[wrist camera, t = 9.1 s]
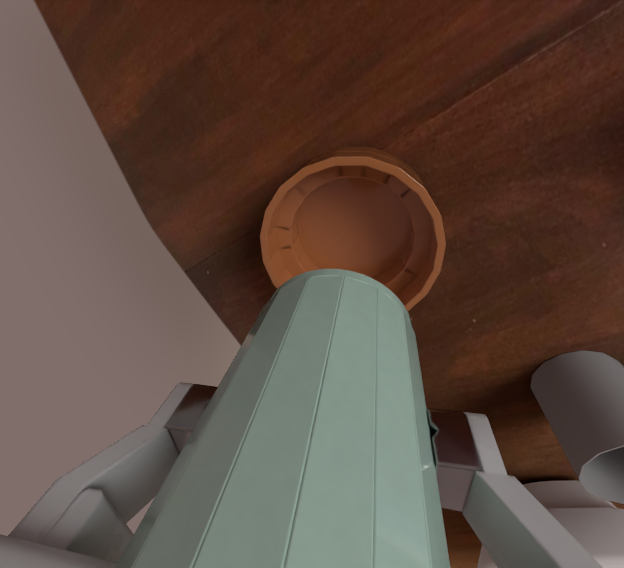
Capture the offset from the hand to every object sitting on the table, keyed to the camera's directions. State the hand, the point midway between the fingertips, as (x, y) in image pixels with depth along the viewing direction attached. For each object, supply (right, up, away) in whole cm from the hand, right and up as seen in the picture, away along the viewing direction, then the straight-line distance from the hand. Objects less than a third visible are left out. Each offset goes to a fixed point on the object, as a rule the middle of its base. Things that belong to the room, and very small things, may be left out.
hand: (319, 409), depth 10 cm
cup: (+28, -6, +24) cm, 37 cm away
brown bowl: (+4, +9, +20) cm, 22 cm away
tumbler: (+1, +2, +3) cm, 4 cm away
